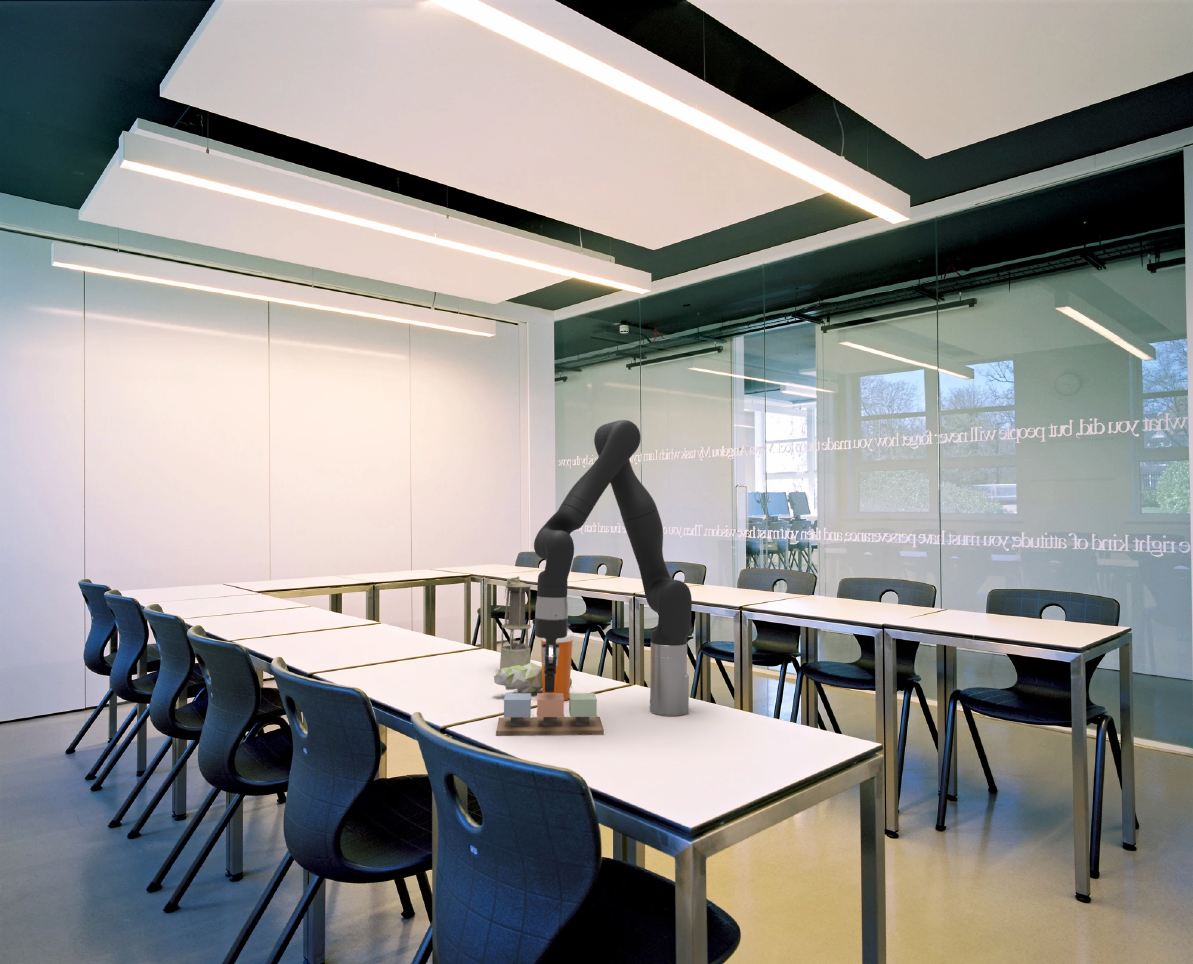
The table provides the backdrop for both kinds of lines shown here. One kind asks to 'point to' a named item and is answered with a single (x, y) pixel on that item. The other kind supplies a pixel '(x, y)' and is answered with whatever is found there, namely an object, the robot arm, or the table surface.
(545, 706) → the button terracotta
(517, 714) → the button slate
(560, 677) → the shaker bottle
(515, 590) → the lamp
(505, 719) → the board
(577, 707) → the button sage
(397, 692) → the table surface
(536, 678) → the decorative object
